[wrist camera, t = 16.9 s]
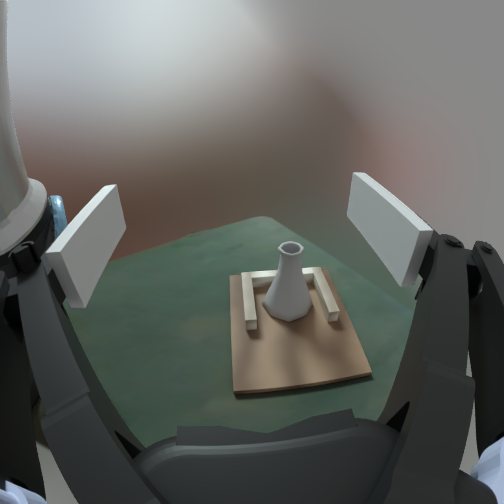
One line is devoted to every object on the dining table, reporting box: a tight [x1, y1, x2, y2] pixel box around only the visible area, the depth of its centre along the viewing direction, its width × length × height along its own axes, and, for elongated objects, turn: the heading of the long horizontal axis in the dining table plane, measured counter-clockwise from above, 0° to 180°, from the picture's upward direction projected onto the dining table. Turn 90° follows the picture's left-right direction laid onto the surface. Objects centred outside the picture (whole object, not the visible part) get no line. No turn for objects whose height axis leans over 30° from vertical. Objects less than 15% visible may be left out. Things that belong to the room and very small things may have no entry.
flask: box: [262, 241, 313, 322], centre depth 38 cm, size 7×7×10 cm
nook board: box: [230, 267, 372, 394], centre depth 38 cm, size 17×22×3 cm
